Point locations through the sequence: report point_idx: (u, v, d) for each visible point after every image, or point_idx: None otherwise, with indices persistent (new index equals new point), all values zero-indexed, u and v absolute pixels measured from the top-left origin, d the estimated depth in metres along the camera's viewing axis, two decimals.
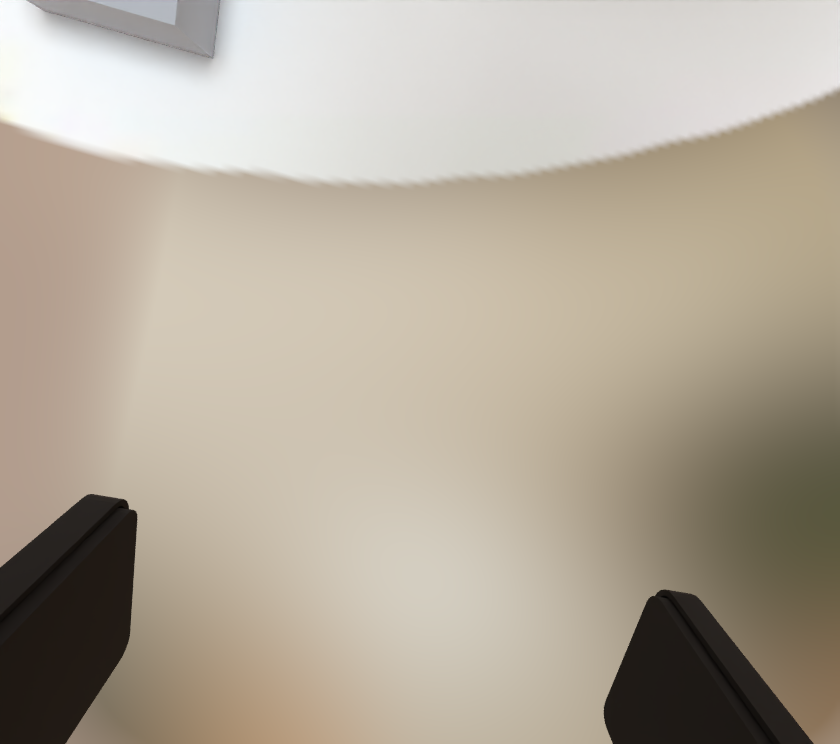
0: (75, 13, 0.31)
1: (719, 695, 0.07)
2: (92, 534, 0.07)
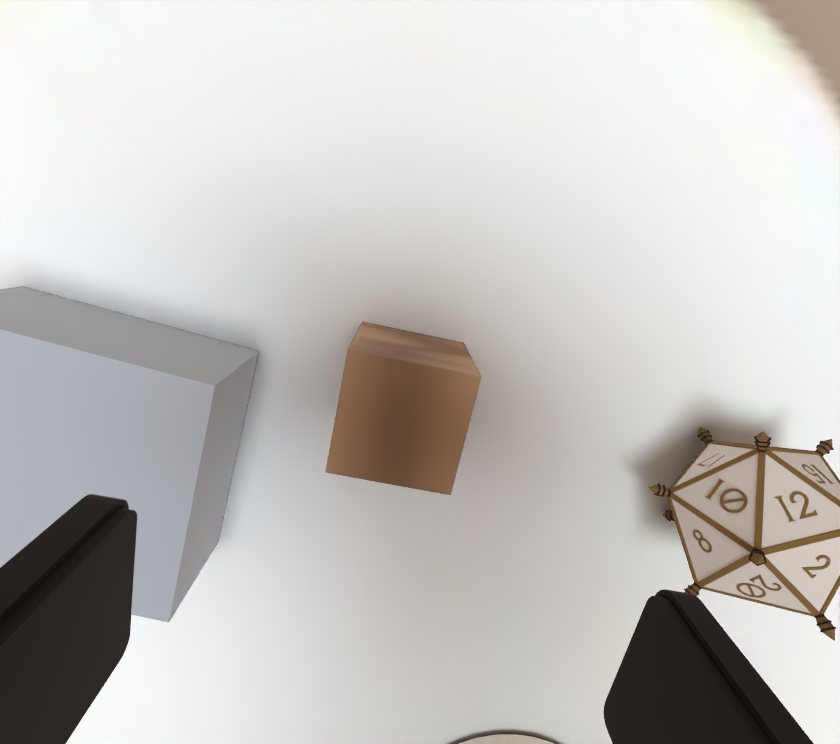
0: None
1: (719, 695, 0.07)
2: (92, 534, 0.07)
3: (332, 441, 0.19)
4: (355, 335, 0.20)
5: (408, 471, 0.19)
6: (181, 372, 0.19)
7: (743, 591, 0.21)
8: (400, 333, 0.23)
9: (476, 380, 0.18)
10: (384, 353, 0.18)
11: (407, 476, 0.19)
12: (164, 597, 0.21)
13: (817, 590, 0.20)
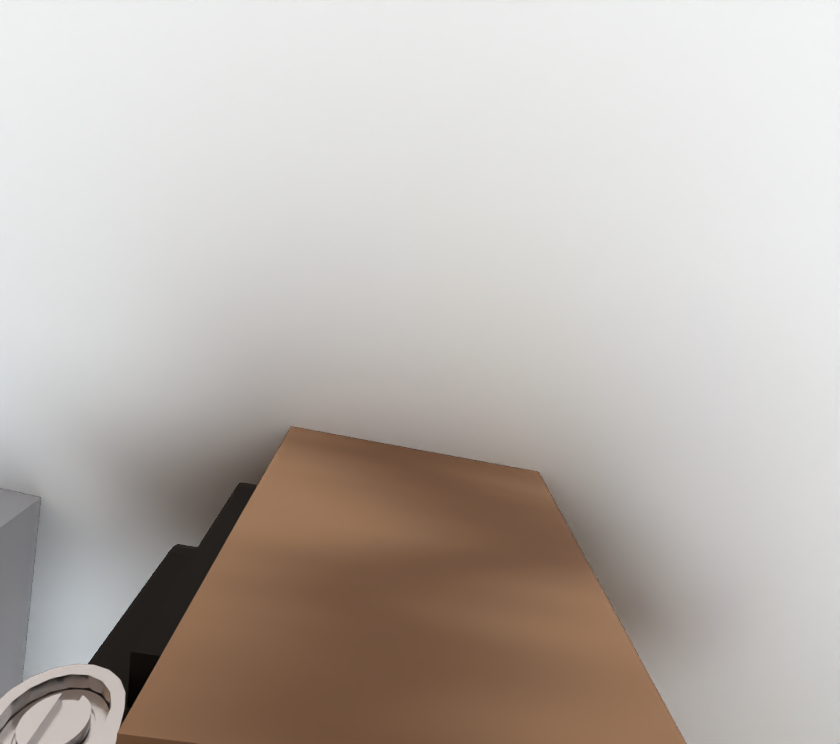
0: None
1: None
2: None
3: None
4: (233, 530, 0.06)
5: None
6: None
7: None
8: (384, 466, 0.09)
9: None
10: (304, 693, 0.04)
11: None
12: None
13: None
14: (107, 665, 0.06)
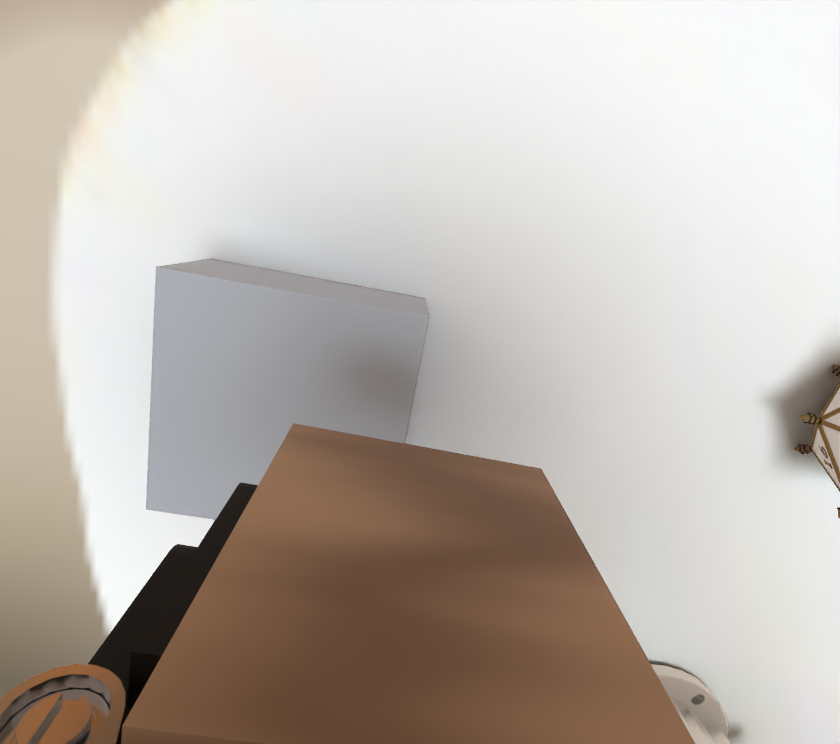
0: None
1: None
2: None
3: None
4: (236, 525, 0.06)
5: None
6: (395, 308, 0.21)
7: None
8: (387, 463, 0.09)
9: None
10: (309, 686, 0.04)
11: None
12: None
13: None
14: (107, 665, 0.06)
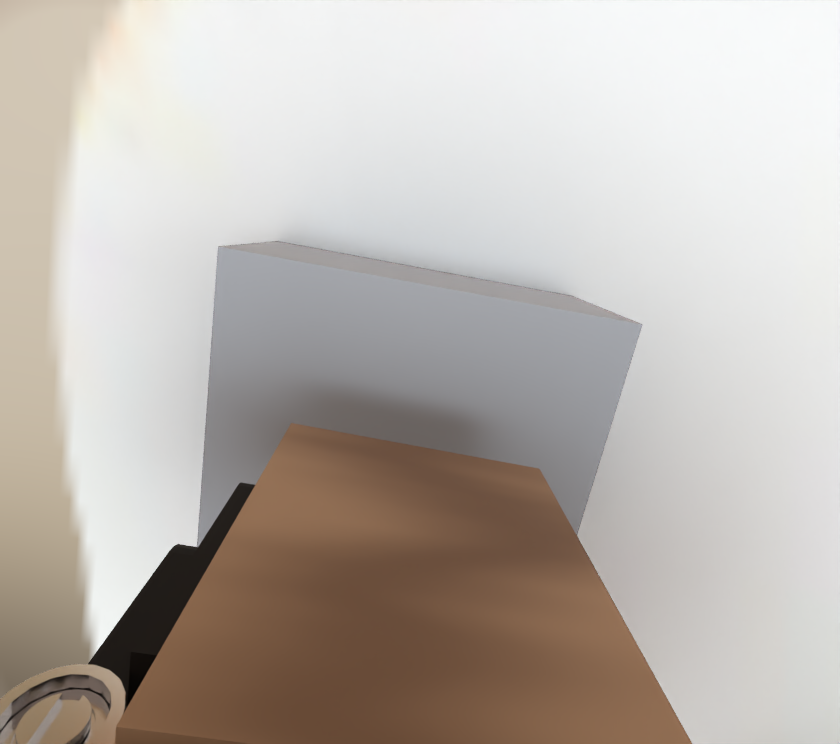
0: None
1: None
2: None
3: None
4: (233, 525, 0.06)
5: None
6: (583, 311, 0.13)
7: None
8: (385, 462, 0.09)
9: None
10: (304, 686, 0.04)
11: None
12: None
13: None
14: (107, 665, 0.06)
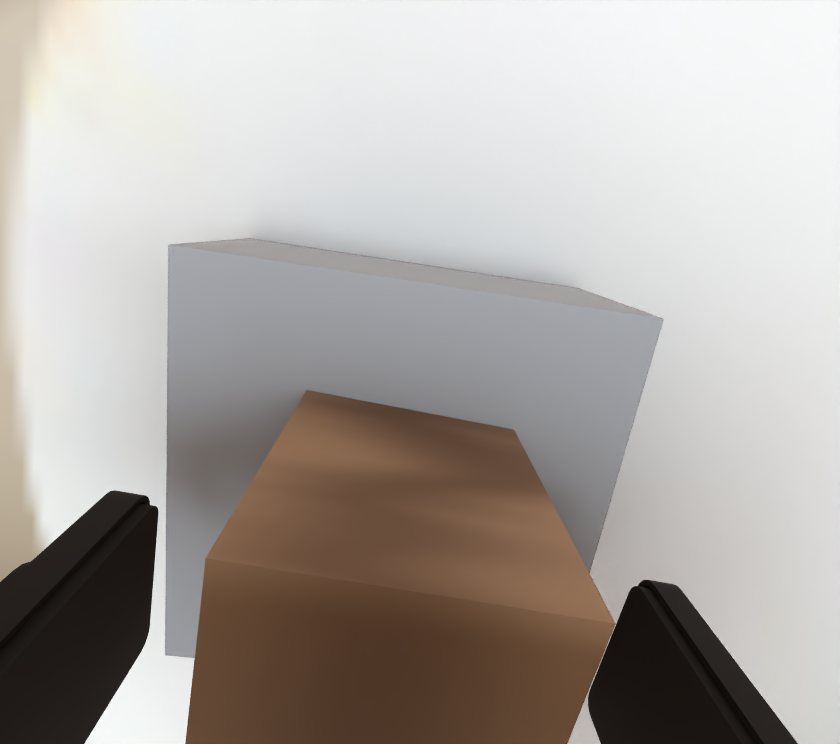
0: None
1: (695, 680, 0.07)
2: (117, 529, 0.07)
3: None
4: (267, 455, 0.08)
5: None
6: (595, 306, 0.12)
7: None
8: (384, 420, 0.11)
9: (600, 633, 0.06)
10: (327, 547, 0.06)
11: None
12: None
13: None
14: None
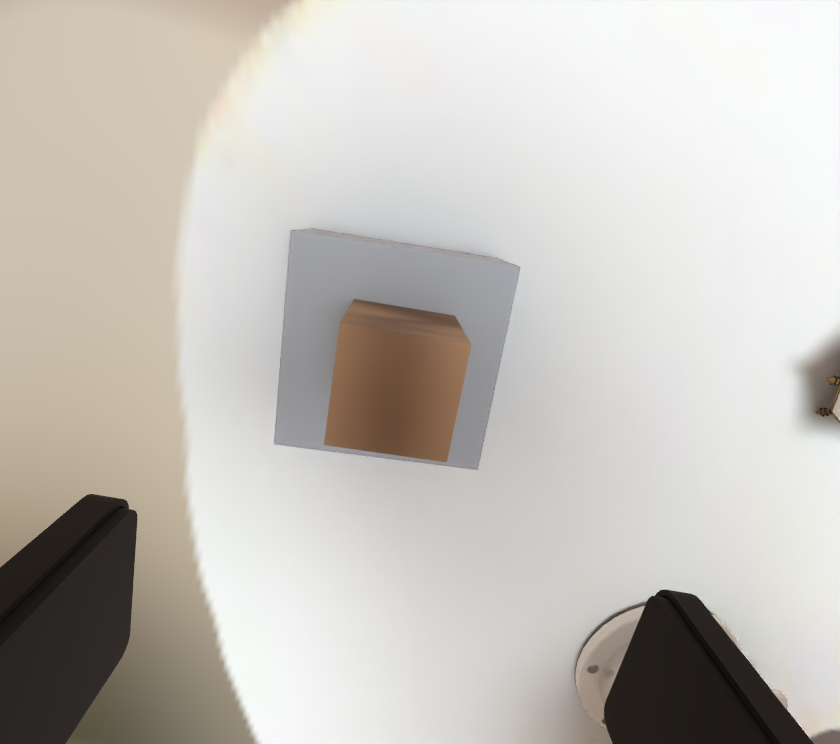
0: None
1: (719, 695, 0.07)
2: (92, 534, 0.07)
3: (329, 414, 0.19)
4: (347, 310, 0.21)
5: (404, 441, 0.20)
6: (489, 261, 0.24)
7: None
8: (392, 308, 0.23)
9: (467, 348, 0.19)
10: (376, 326, 0.19)
11: (403, 445, 0.20)
12: (474, 449, 0.27)
13: None
14: None
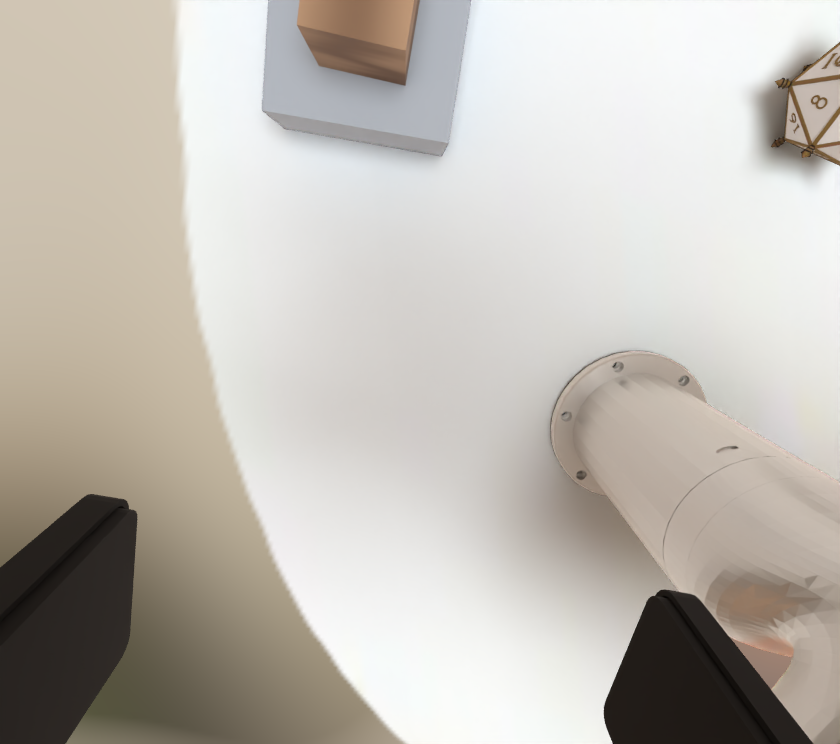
0: None
1: (719, 695, 0.07)
2: (92, 534, 0.07)
3: None
4: None
5: (368, 24, 0.22)
6: None
7: None
8: None
9: None
10: None
11: (367, 29, 0.22)
12: (445, 120, 0.29)
13: None
14: None
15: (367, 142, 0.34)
